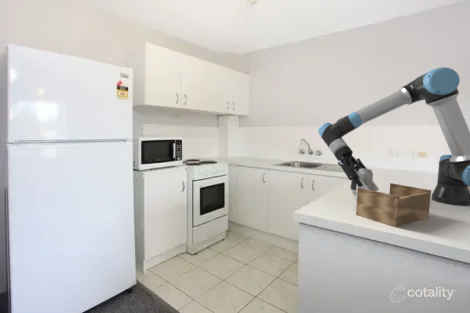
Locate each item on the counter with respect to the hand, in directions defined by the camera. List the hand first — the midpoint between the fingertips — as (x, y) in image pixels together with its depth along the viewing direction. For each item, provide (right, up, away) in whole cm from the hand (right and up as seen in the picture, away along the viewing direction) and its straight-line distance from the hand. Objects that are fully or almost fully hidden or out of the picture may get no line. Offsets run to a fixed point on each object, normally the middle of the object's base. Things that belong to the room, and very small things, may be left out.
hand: (371, 191), depth 107 cm
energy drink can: (-2, -6, +4) cm, 7 cm away
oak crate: (+4, -9, -7) cm, 12 cm away
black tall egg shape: (+8, -6, +26) cm, 28 cm away
